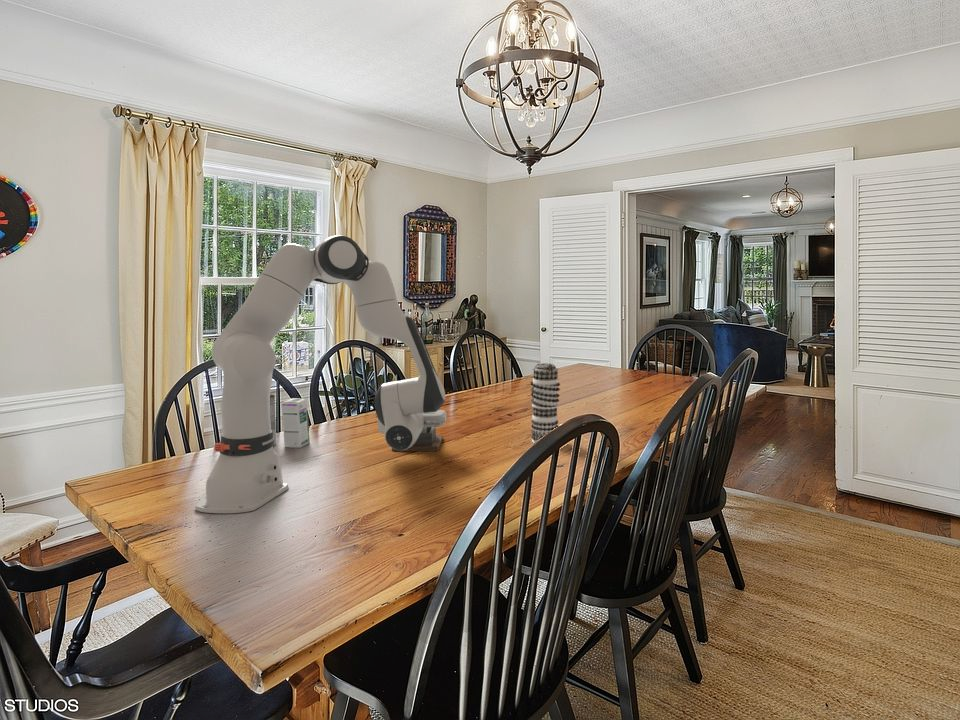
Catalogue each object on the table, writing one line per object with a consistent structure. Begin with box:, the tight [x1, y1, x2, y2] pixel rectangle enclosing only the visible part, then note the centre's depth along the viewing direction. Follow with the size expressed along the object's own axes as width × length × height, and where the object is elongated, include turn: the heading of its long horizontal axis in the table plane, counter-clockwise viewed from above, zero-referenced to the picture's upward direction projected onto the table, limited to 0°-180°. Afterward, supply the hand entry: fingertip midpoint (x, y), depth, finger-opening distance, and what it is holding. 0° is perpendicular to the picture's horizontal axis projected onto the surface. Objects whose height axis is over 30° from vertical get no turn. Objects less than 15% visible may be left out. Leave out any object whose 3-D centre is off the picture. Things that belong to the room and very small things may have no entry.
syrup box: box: [281, 397, 311, 449], centre depth 179 cm, size 6×6×14 cm
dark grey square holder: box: [391, 427, 444, 452], centre depth 180 cm, size 14×14×5 cm
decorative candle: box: [530, 362, 561, 444], centre depth 181 cm, size 9×9×25 cm
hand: (415, 411), depth 176 cm, fingers open, 8 cm apart
